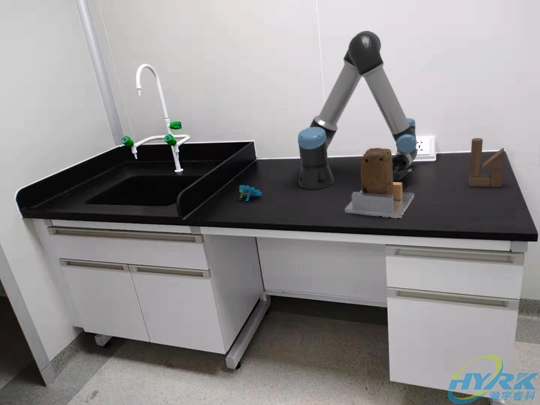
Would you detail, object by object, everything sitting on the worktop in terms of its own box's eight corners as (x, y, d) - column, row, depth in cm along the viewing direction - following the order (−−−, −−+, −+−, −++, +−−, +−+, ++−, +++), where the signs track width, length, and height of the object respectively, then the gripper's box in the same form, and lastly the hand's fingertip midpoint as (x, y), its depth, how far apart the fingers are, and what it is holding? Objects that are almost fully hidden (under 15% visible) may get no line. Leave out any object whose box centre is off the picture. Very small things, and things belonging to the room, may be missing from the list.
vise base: (344, 212, 151) (343, 193, 148) (362, 192, 165) (361, 174, 162) (400, 218, 141) (400, 198, 138) (414, 196, 155) (414, 178, 152)
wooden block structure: (501, 187, 152) (505, 140, 145) (468, 186, 157) (471, 140, 150) (500, 183, 155) (504, 137, 148) (468, 183, 160) (471, 137, 153)
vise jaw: (363, 196, 157) (362, 182, 155) (365, 194, 159) (364, 180, 157) (400, 200, 150) (400, 185, 148) (402, 197, 152) (402, 182, 150)
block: (394, 199, 152) (393, 147, 144) (389, 208, 146) (388, 154, 138) (365, 197, 157) (362, 146, 149) (359, 205, 151) (356, 153, 143)
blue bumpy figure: (267, 193, 174) (251, 183, 167) (262, 206, 173) (246, 197, 166) (249, 192, 182) (233, 183, 175) (245, 205, 180) (229, 195, 174)
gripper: (416, 172, 170) (401, 194, 152) (384, 170, 177) (367, 191, 159) (416, 154, 167) (401, 175, 149) (384, 153, 174) (366, 173, 156)
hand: (383, 183), depth 154 cm, fingers closed
